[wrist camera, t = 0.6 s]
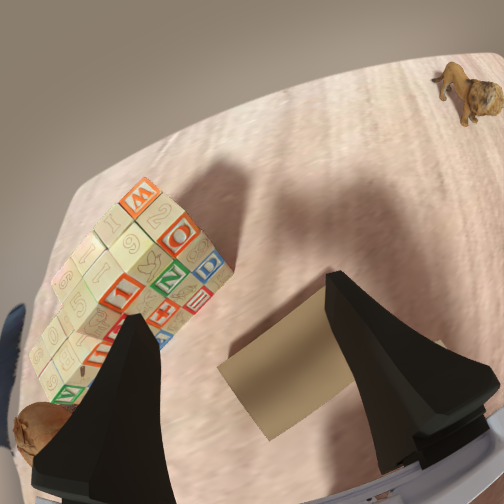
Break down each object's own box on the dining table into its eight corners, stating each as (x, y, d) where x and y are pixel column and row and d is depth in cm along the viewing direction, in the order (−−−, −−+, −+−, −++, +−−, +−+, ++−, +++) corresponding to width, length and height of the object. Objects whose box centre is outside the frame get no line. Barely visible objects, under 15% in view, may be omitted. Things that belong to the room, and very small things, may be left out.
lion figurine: (498, 138, 30) (516, 93, 22) (477, 144, 30) (495, 96, 22) (441, 80, 36) (448, 38, 29) (419, 84, 37) (424, 38, 29)
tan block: (380, 355, 24) (386, 352, 22) (275, 435, 24) (269, 441, 21) (326, 293, 28) (326, 283, 26) (227, 369, 27) (216, 367, 25)
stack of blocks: (109, 407, 28) (24, 401, 17) (84, 366, 30) (4, 346, 20) (236, 272, 31) (185, 208, 20) (198, 239, 34) (143, 173, 23)
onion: (48, 426, 28) (-10, 422, 19) (79, 390, 29) (16, 380, 20) (84, 485, 23) (24, 495, 15) (121, 453, 25) (55, 463, 16)
